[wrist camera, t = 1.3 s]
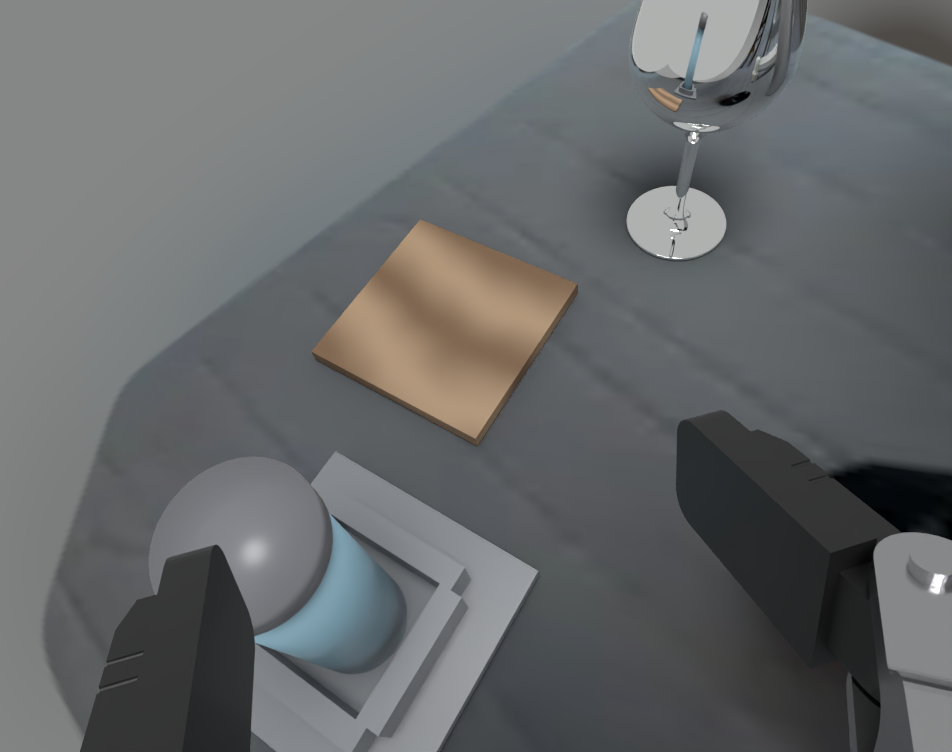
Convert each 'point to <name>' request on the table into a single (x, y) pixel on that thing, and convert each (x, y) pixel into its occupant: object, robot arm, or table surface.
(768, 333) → the table surface
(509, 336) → the light brown wooden board
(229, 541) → the filter cartridge
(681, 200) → the wineglass
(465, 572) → the cartridge housing
